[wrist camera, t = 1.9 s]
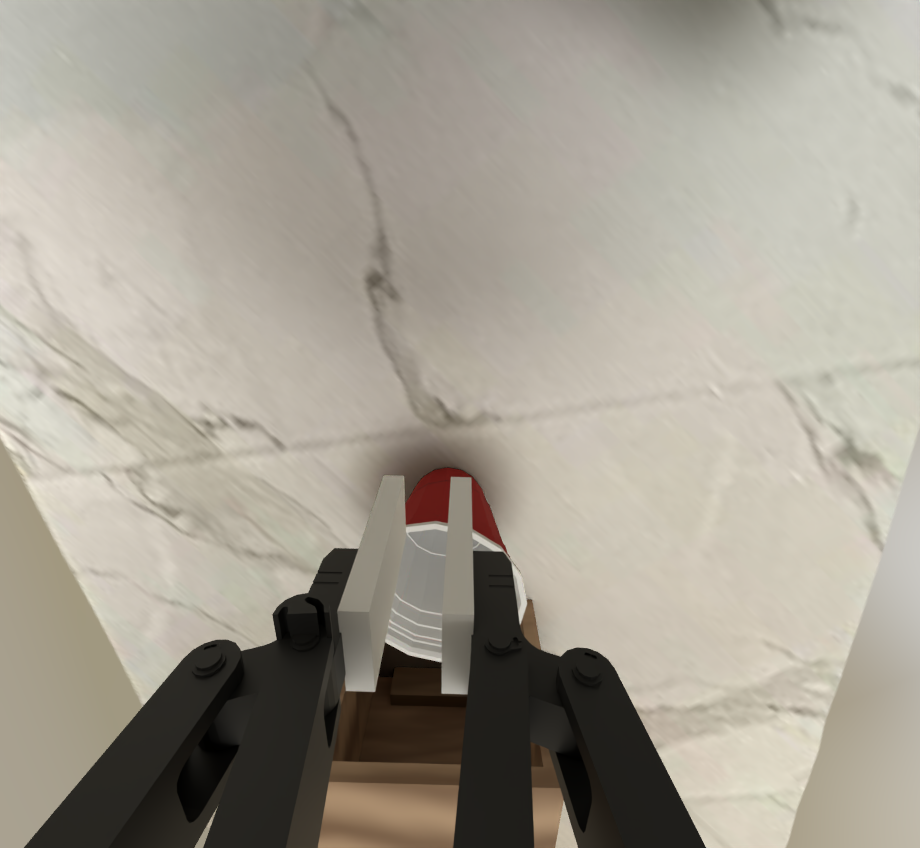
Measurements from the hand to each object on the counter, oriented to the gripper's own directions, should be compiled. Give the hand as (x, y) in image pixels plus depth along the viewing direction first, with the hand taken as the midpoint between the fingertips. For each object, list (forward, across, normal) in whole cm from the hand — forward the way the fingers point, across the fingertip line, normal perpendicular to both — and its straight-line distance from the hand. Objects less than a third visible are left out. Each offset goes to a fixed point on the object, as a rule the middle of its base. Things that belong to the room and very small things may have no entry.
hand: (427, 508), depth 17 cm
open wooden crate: (+18, 0, -28) cm, 34 cm away
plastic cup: (+19, 0, -11) cm, 22 cm away
